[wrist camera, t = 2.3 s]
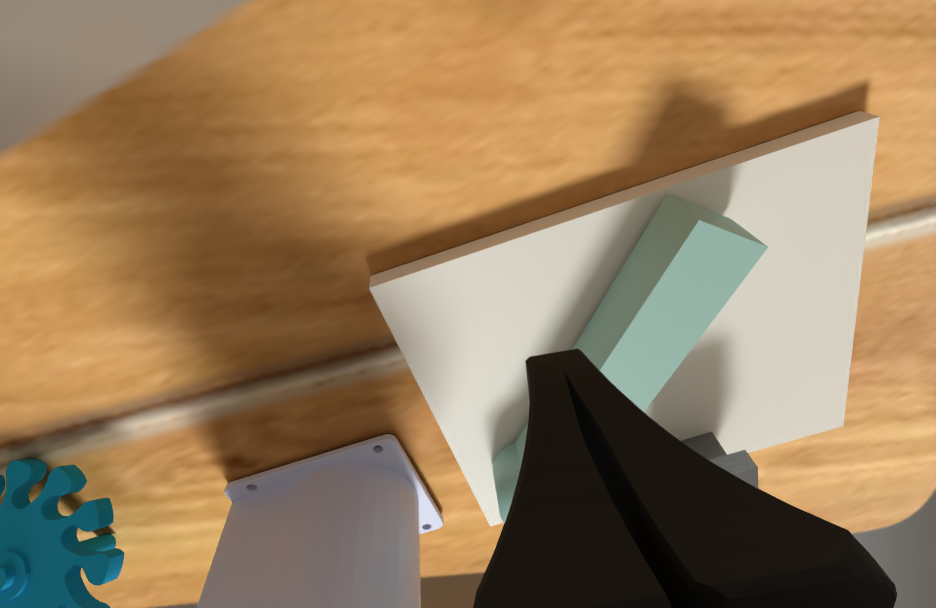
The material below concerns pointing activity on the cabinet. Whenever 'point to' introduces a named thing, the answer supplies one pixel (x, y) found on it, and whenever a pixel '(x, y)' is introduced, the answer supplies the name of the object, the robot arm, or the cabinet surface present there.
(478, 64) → the cabinet surface
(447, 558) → the cabinet surface
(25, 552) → the gear
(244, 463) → the cabinet surface
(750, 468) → the block
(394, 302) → the board
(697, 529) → the robot arm
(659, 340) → the latch bar
